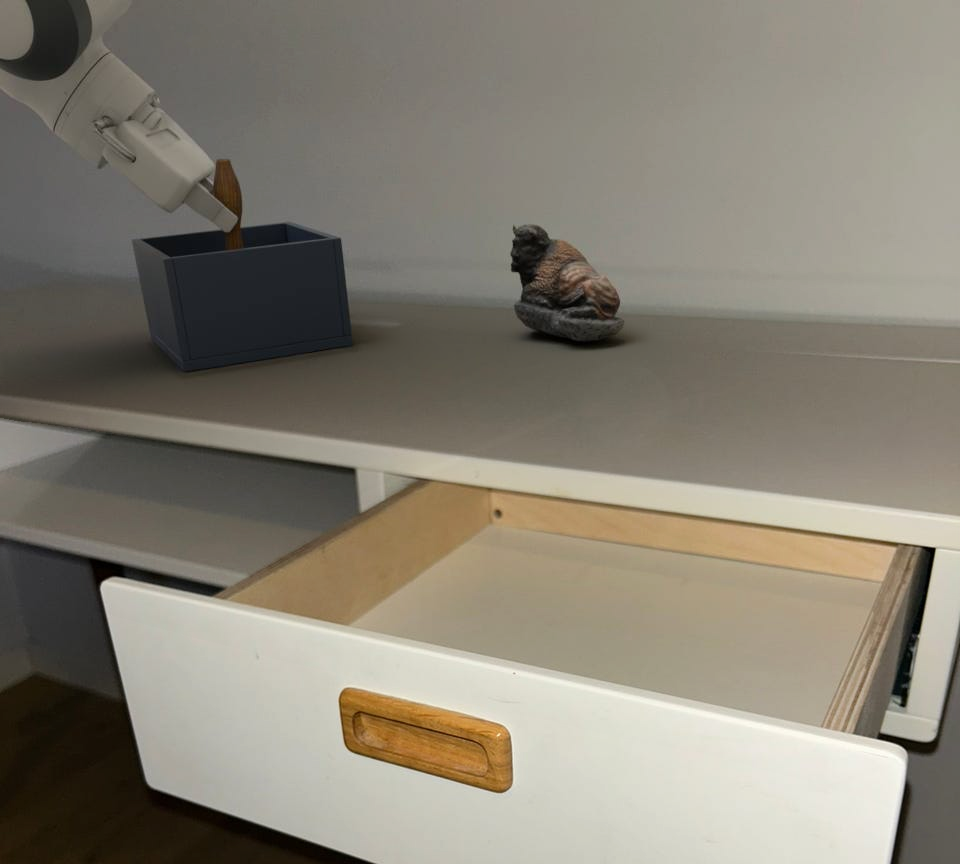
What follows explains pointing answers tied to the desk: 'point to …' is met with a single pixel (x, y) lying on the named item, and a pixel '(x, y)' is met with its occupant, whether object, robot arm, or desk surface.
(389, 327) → the desk surface
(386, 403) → the desk surface
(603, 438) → the desk surface
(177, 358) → the bin
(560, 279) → the bison figurine
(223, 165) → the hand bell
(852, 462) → the desk surface
